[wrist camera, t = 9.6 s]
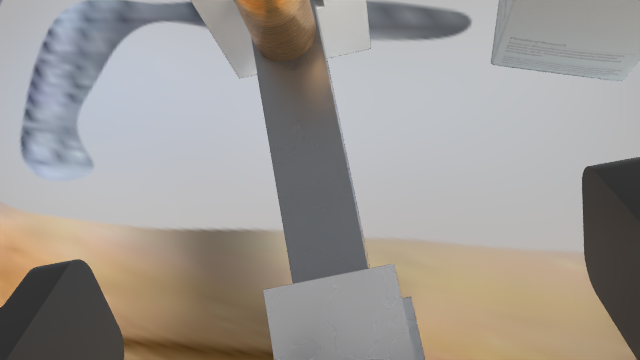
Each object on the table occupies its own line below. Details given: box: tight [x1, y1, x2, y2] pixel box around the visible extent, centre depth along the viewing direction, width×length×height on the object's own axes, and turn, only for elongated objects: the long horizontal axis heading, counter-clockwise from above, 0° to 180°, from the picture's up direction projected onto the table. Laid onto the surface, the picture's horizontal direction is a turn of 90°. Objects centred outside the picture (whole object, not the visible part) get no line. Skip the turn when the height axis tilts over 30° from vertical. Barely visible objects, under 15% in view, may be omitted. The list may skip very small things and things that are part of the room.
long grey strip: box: [233, 0, 370, 284], centre depth 23 cm, size 3×20×11 cm, turn 11°
